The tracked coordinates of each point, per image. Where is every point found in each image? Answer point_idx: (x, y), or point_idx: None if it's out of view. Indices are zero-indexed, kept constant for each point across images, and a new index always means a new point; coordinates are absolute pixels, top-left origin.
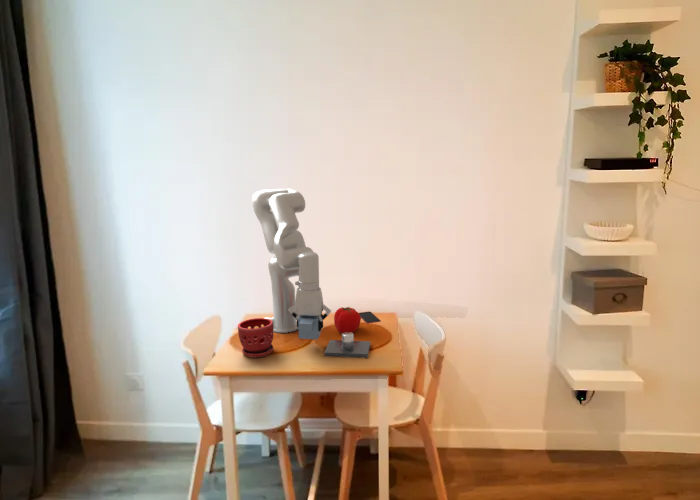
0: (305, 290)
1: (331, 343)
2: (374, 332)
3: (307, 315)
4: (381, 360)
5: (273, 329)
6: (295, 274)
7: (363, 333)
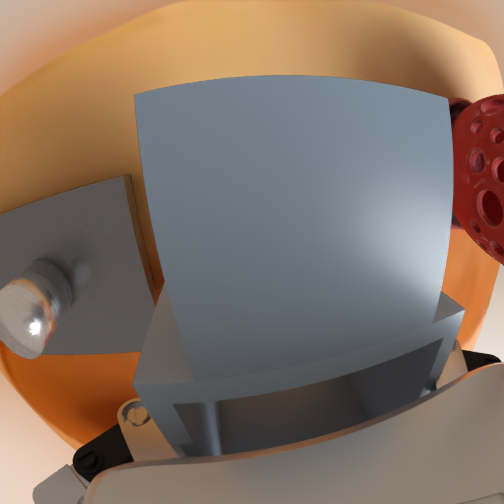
0: None
1: (139, 312)
2: (81, 424)
3: (360, 425)
4: None
5: None
6: None
7: (104, 420)
